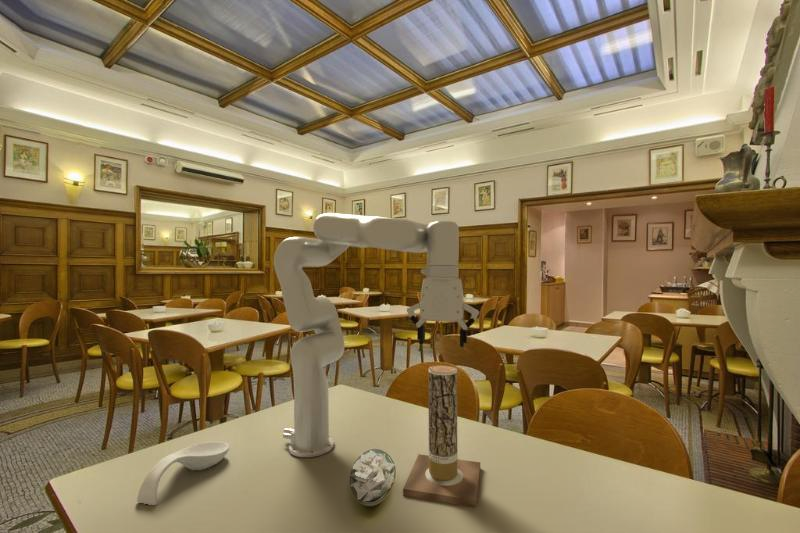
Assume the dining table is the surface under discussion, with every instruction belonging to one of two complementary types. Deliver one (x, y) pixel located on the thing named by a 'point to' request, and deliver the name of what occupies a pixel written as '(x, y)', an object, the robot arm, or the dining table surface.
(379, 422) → the dining table surface
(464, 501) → the board
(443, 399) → the bark print can
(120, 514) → the dining table surface
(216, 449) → the spoon rest
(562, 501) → the dining table surface
